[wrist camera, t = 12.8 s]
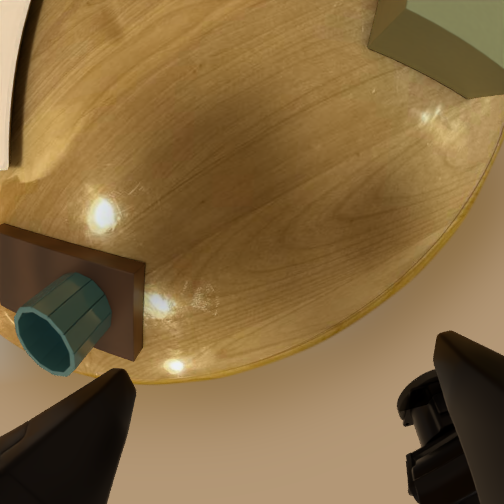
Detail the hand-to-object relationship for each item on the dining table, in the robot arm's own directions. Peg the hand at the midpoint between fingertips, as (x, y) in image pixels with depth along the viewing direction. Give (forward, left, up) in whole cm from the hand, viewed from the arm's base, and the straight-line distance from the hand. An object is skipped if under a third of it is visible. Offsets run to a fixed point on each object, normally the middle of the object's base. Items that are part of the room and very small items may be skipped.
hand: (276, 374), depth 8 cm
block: (-1, +19, -13) cm, 23 cm away
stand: (+13, -13, -13) cm, 23 cm away
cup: (-2, +16, -11) cm, 19 cm away
